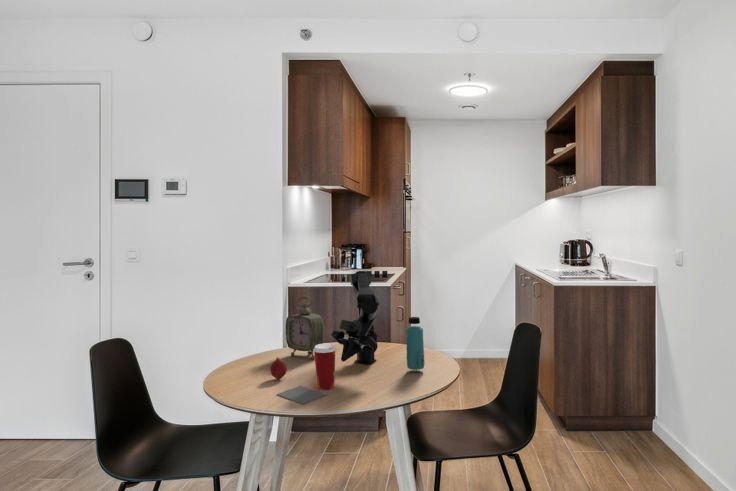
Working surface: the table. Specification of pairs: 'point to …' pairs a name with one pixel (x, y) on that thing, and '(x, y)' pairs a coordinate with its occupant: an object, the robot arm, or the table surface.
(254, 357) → the table surface
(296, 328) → the tabletop clock
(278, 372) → the red rounded piece
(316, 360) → the paper cup
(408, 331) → the beverage bottle
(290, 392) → the mat
